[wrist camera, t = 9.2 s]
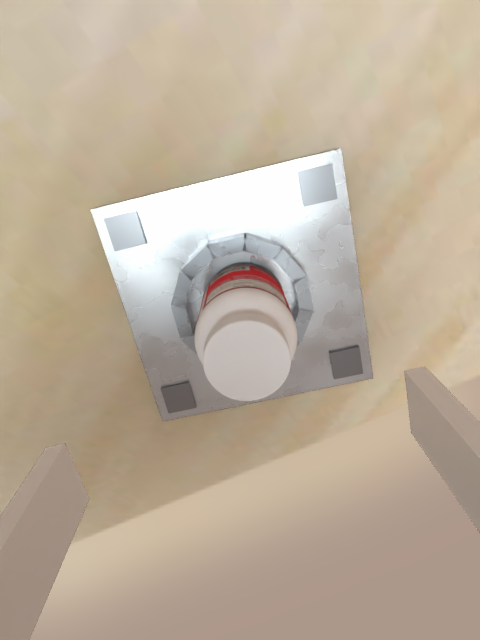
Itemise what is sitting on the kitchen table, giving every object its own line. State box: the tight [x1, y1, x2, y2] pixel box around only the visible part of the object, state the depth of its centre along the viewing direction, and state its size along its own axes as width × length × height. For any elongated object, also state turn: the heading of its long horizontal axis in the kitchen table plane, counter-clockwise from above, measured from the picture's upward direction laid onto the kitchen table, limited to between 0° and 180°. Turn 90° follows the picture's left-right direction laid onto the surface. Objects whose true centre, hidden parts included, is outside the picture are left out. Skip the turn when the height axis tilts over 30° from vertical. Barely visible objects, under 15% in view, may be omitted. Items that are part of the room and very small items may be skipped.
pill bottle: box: [194, 263, 297, 401], centre depth 27 cm, size 6×6×11 cm
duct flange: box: [91, 149, 373, 421], centre depth 32 cm, size 18×18×3 cm
